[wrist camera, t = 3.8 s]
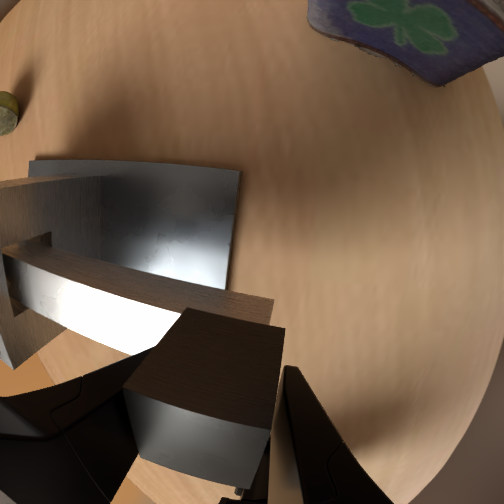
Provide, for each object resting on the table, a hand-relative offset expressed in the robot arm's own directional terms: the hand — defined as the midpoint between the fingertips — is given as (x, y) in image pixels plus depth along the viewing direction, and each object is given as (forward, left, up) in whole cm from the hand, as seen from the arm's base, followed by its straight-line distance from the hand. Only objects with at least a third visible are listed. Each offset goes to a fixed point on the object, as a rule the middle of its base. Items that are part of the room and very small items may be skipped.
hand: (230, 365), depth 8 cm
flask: (-5, -15, -9) cm, 18 cm away
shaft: (+8, 0, -3) cm, 8 cm away
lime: (+25, -10, -9) cm, 28 cm away
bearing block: (+11, 0, -9) cm, 14 cm away
